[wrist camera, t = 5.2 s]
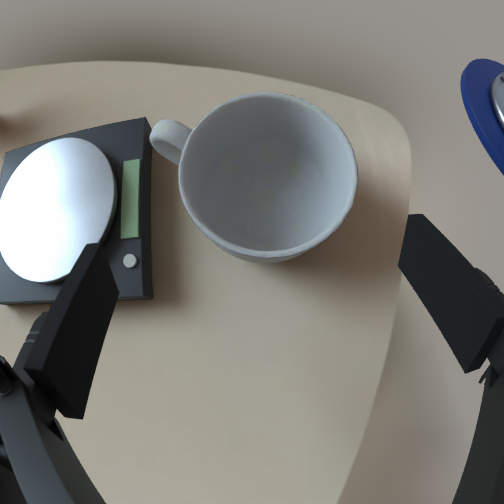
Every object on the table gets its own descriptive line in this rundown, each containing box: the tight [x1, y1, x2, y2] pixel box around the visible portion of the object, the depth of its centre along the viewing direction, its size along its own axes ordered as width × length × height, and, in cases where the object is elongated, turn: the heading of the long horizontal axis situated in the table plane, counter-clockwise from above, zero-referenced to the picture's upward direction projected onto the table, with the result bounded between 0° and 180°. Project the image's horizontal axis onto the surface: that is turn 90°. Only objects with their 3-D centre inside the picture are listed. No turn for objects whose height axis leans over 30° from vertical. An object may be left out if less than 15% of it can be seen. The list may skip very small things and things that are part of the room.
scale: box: [0, 117, 153, 305], centre depth 24 cm, size 16×15×3 cm
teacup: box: [150, 92, 358, 263], centre depth 22 cm, size 14×11×8 cm
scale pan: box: [0, 138, 118, 284], centre depth 22 cm, size 12×12×1 cm
